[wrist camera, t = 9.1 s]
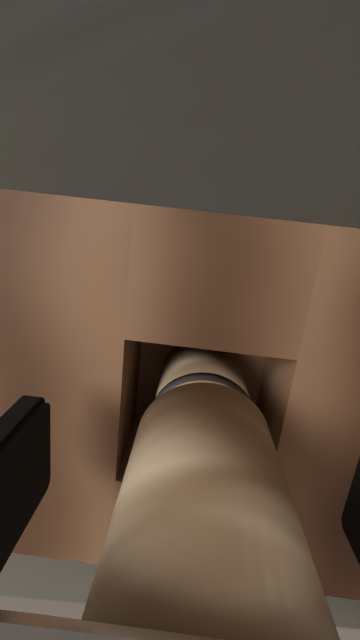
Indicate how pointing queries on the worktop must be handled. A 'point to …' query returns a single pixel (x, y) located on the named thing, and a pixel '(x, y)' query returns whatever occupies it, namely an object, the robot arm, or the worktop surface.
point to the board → (186, 331)
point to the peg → (207, 519)
